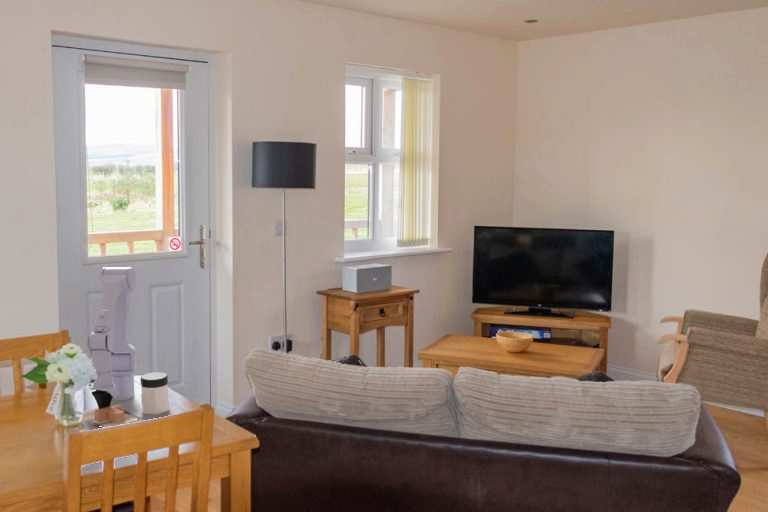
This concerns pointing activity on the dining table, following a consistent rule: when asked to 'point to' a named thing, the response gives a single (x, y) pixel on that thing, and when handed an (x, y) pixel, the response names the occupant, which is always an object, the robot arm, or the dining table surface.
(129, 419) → the board
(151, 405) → the jar
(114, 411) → the t block
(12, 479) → the dining table surface
